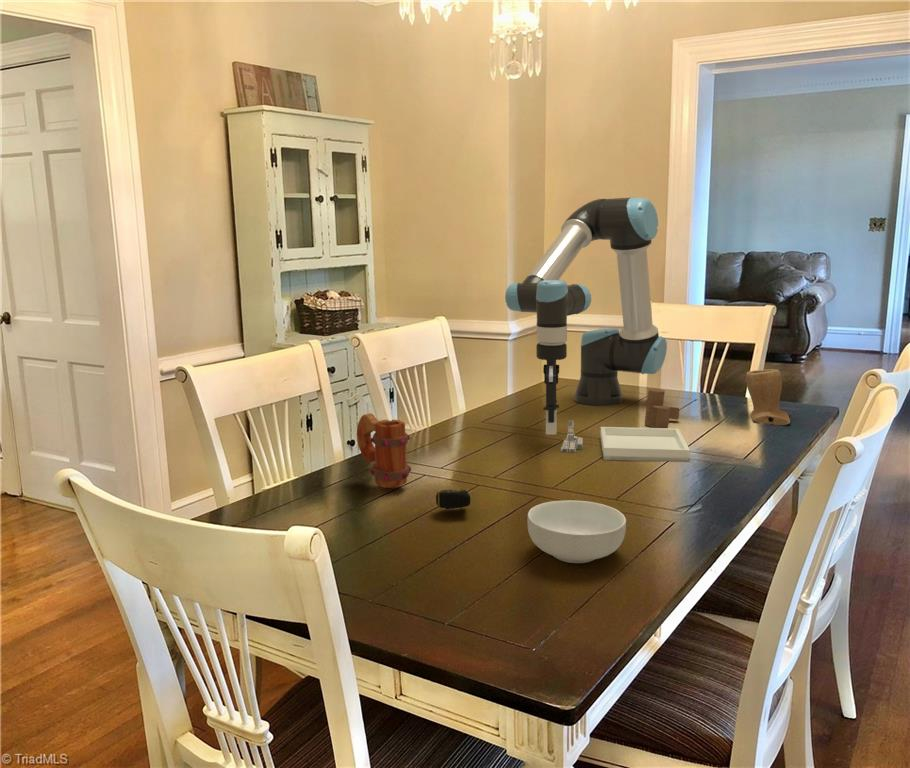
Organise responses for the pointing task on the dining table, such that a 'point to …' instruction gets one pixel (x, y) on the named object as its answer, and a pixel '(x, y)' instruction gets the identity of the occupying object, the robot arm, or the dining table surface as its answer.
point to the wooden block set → (659, 410)
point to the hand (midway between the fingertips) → (551, 433)
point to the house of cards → (571, 440)
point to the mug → (384, 449)
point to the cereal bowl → (576, 529)
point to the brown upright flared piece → (766, 396)
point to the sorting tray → (643, 444)
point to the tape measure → (452, 499)
